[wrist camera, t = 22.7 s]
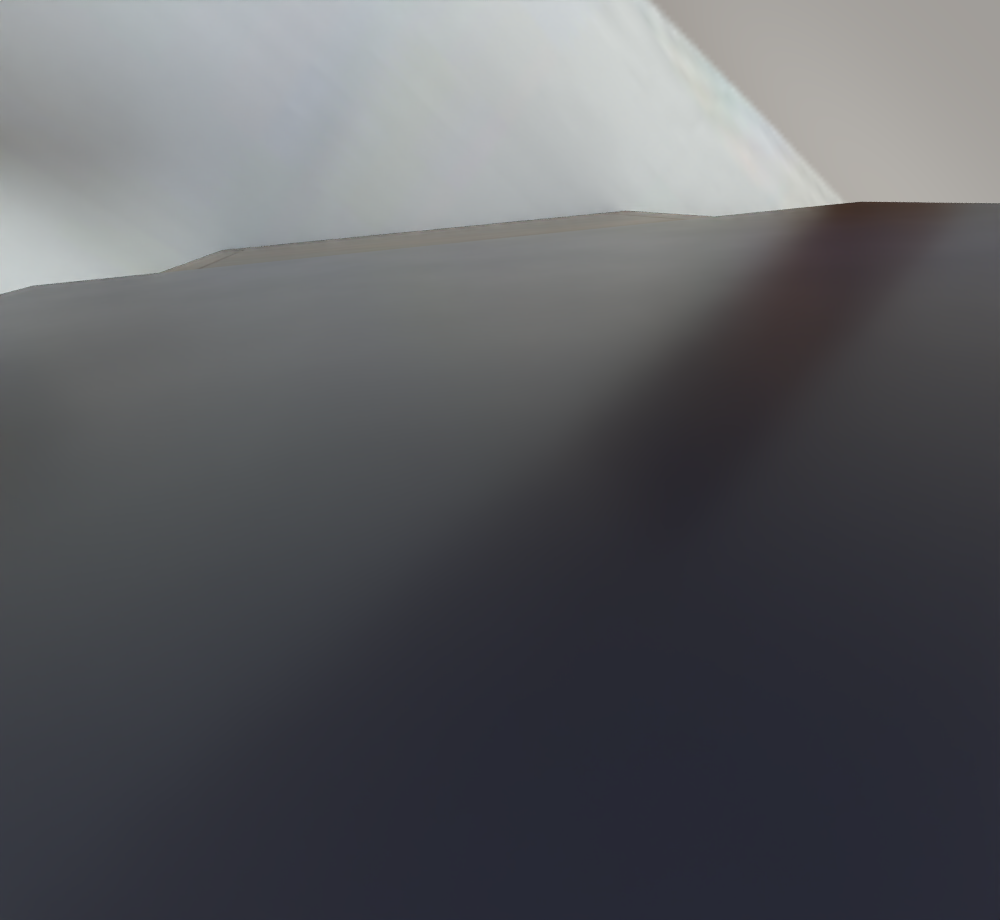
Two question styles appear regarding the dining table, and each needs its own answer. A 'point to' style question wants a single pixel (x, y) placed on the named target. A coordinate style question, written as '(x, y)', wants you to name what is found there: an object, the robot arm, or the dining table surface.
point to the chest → (425, 238)
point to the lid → (511, 579)
